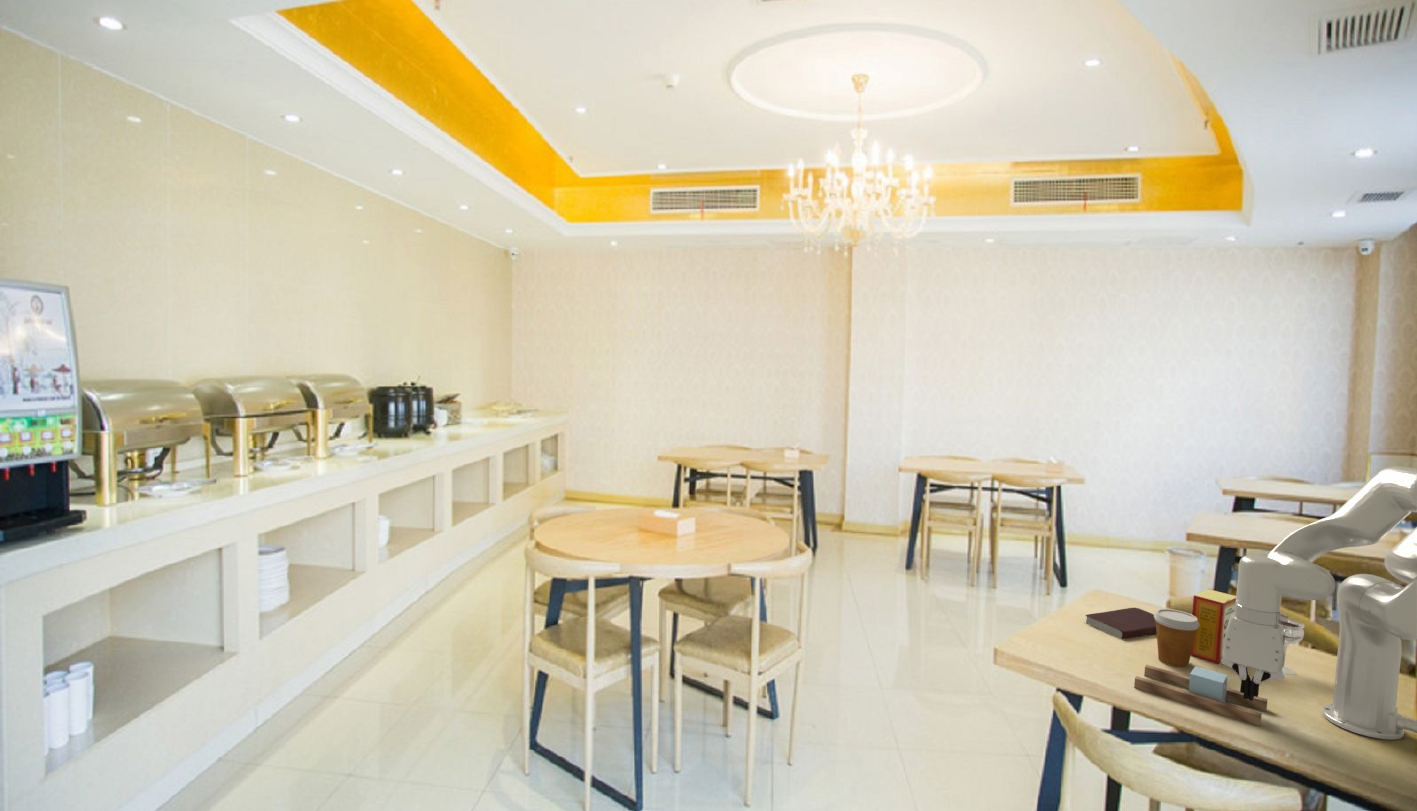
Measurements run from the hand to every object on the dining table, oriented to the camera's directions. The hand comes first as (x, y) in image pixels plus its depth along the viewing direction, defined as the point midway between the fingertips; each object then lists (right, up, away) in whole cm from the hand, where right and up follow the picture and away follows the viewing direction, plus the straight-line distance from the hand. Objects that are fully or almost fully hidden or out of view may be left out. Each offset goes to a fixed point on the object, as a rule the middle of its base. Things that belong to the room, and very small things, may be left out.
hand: (1248, 697), depth 152 cm
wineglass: (+25, -2, +22) cm, 33 cm away
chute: (-6, -3, +7) cm, 9 cm away
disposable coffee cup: (0, -2, +25) cm, 25 cm away
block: (-5, -3, +5) cm, 8 cm away
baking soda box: (+13, -2, +30) cm, 32 cm away
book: (+2, -1, +47) cm, 48 cm away
